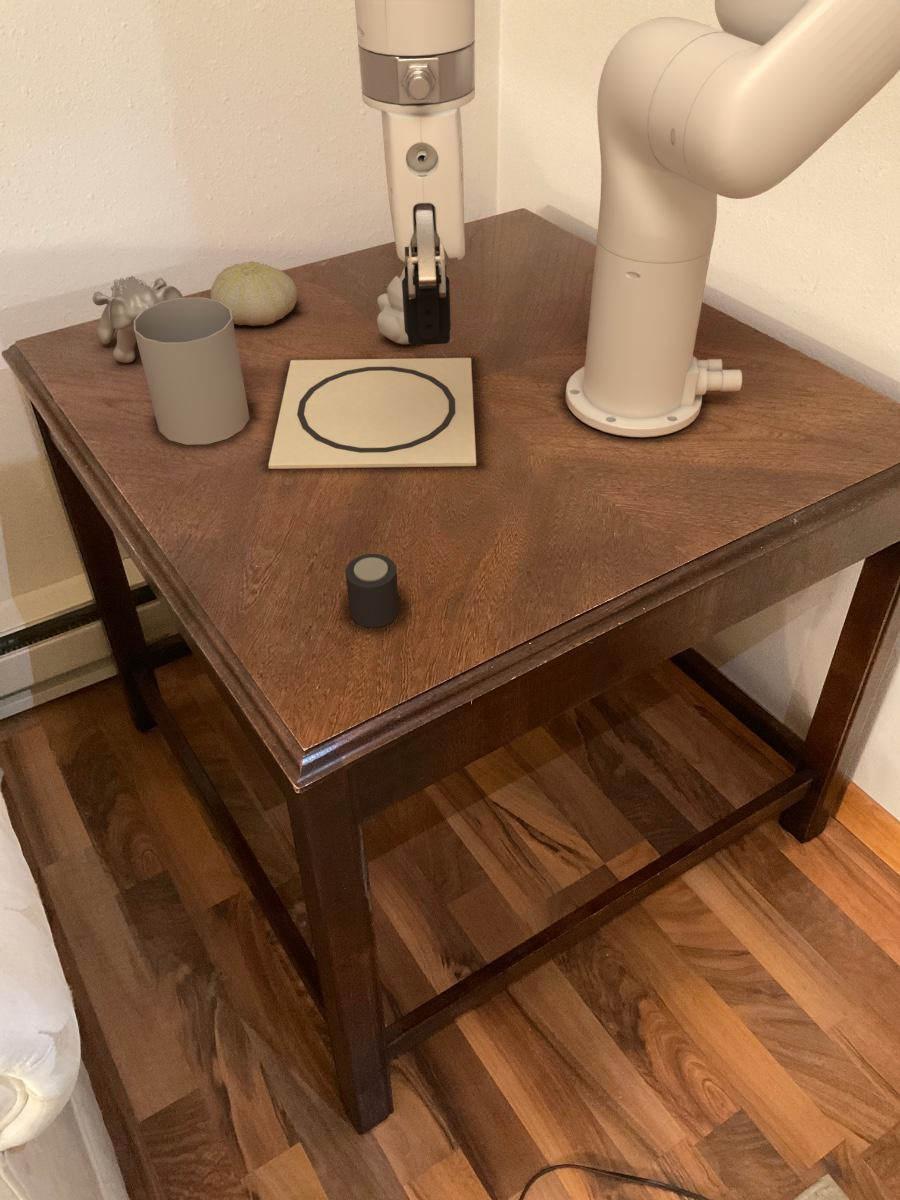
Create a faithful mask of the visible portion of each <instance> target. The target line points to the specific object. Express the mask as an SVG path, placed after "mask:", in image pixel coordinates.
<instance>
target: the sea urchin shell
mask: <svg viewBox="0 0 900 1200" xmlns="http://www.w3.org/2000/svg"><path fill="white" fill-rule="evenodd" d="M296 285H297V284H295V282H294V281H293V279H292V278H291V277H290V276H289V275H288V274H286V273H285V272H284V271H282V270H281V269H278V268H276V267H274V266H271V265H268V264H267V263H266V264H265V263H261V262H259V261H252V260H251V261H243V262H241V263H236V264H235V263H234V264H233V265H230V266H229V267H226V268H224V269H223V270H221V271H220V272H219V273H218V274H217V275H216V277H215V280H214V282H213V284H212V285H211V287H210V290H209V291H210V299H212V300H216V301H220V302H221V303H223V304H224V305H226V306H227V307H229V308H230V309H231V313H232V319H233V324H234V325H238V326H251V327H254V326H267V325H271V324H275V323H276V322H278V321H279V320H281V319H283V318H285V316H286V315H288V314H289V313H291V312H292V310H294V308H295V305H296V304H297V301H298V290H297V286H296Z"/></svg>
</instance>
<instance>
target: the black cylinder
mask: <svg viewBox="0 0 900 1200" xmlns="http://www.w3.org/2000/svg"><path fill="white" fill-rule="evenodd" d="M445 276H446V291H449V313H450V314H451V288H450V287H451V284H450V283H451V282H450V278H449V276H447V274H446V275H445ZM415 288H416V287H415ZM402 293H403V310H404V326H405V332H406V334H407V335H408V329H407V312H406V293H409V288H408V275H407V276H406V277H405V278H404V279H403V281H402ZM451 321H452V319H450V331H451V330H452V329H451V328H452V326H451V325H452V323H451Z"/></svg>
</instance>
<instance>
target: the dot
mask: <svg viewBox="0 0 900 1200" xmlns="http://www.w3.org/2000/svg"><path fill="white" fill-rule="evenodd" d="M397 571H398V570H397V566H396V563H395V562H394V561H393V560H392V559H391V558H389V557H388V556H385V555H383V554H378V553H368V554H367V553H365V554H362V555H358V556H357V557H355V558H353V559H351V561H349V563H348V564H347V565H346V568H345V578H346V591H347V600H348V608H349V609H348V610H349V615H350V617H351V619H352V621H353V622H354V623H356V624H357V625H359V626H361V627H364V628H371V629H373V628H374V629H376V628H382V627H386V626H387V625H389V624H391V623H393V622H394V620H396V618H397V617H398V615H399V613H400V603H399V590H398V573H397Z"/></svg>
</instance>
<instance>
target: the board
mask: <svg viewBox="0 0 900 1200" xmlns="http://www.w3.org/2000/svg"><path fill="white" fill-rule="evenodd" d="M288 367H289V368H288V372H287V377H286V380H285V381H286V382H285V386H284V389H283V390H284V391H283V395H282V399H281V404H280V409H279V413H278V419H277V422H276V423H277V424H276V428H275V433H274V438H273V442H272V446H271V451H270V455H269V461H268V469H269V470H276V469H277V470H279V469H289V470H291V469H348V468H349V469H351V468H352V469H353V468H354V469H357V468H360V469H361V468H424V467H425V468H429V467H432V468H433V467H434V468H435V467H476V466H477V449H476V433H475V432H476V430H475V429H476V428H475V412H474V410H475V409H474V391H473V390H474V389H473V371H472V369H473V368H472V358H471V357H438V358H437V357H435V358H434V357H432V358H431V357H430V358H429V357H428V358H427V357H425V358H424V357H423V358H422V357H421V358H361V359H359V358H357V359H355V358H353V359H352V358H351V359H350V358H349V359H292V360H291V359H290V363H289V366H288Z"/></svg>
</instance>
